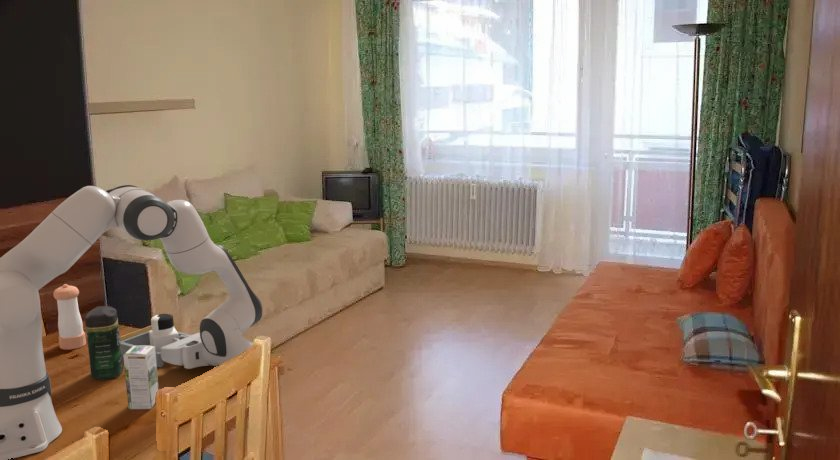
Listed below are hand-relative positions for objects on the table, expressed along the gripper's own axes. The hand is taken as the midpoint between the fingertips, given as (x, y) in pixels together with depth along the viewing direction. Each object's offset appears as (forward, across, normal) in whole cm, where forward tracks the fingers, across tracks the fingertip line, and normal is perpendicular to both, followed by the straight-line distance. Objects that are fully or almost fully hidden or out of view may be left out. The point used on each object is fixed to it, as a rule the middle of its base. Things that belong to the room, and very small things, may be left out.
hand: (176, 339), depth 212 cm
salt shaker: (+36, +9, +6) cm, 38 cm away
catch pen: (+8, 0, +5) cm, 10 cm away
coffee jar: (+8, +18, +6) cm, 20 cm away
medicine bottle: (+5, +1, +6) cm, 7 cm away
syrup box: (-17, +25, +6) cm, 31 cm away
